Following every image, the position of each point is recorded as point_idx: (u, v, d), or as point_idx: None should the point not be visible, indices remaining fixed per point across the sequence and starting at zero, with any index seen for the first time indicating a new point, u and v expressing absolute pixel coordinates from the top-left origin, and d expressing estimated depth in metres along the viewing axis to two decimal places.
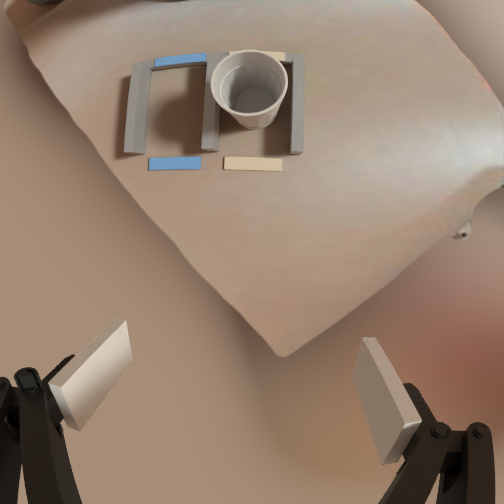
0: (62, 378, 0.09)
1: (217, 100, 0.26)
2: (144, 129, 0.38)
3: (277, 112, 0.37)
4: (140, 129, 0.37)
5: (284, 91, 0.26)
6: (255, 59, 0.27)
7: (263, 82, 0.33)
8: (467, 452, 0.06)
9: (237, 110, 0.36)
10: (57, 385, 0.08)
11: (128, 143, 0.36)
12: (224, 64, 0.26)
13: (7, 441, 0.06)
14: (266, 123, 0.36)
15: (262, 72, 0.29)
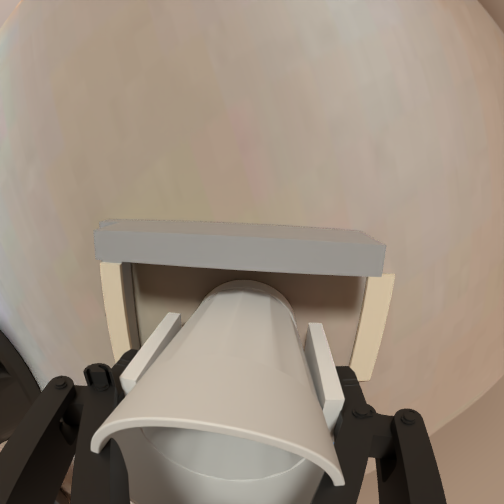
0: (133, 371, 0.10)
1: None
2: None
3: (255, 282, 0.17)
4: None
5: (252, 437, 0.05)
6: (124, 432, 0.08)
7: None
8: (398, 441, 0.07)
9: None
10: (131, 379, 0.10)
11: None
12: (159, 499, 0.08)
13: (58, 443, 0.07)
14: (292, 321, 0.15)
15: None
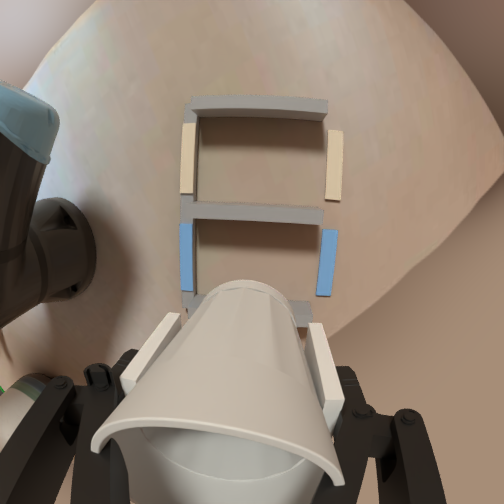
0: (133, 371, 0.10)
1: None
2: None
3: (255, 282, 0.17)
4: None
5: (252, 437, 0.05)
6: (124, 432, 0.08)
7: None
8: (398, 441, 0.07)
9: None
10: (131, 379, 0.10)
11: (300, 321, 0.31)
12: (159, 499, 0.08)
13: (58, 443, 0.07)
14: (292, 321, 0.15)
15: None
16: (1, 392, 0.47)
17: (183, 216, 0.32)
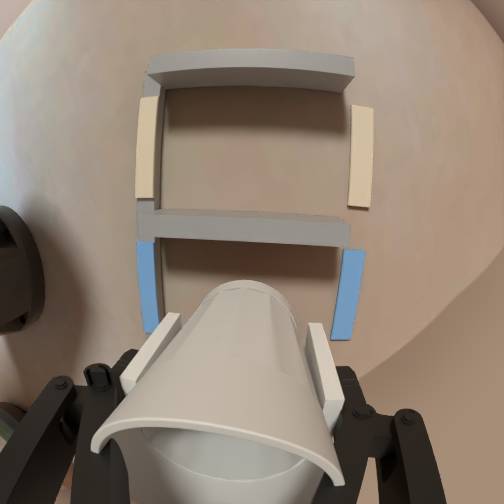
0: (133, 371, 0.10)
1: None
2: None
3: (255, 282, 0.17)
4: None
5: (252, 437, 0.05)
6: (124, 432, 0.08)
7: None
8: (398, 441, 0.07)
9: None
10: (131, 379, 0.10)
11: None
12: (159, 499, 0.08)
13: (58, 443, 0.07)
14: (292, 321, 0.15)
15: None
16: None
17: None
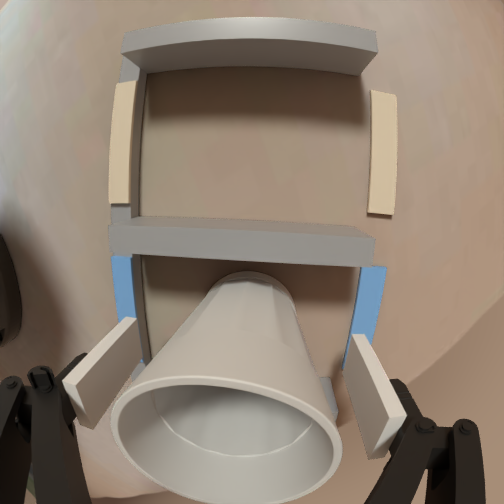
0: (76, 376, 0.09)
1: (278, 502, 0.08)
2: None
3: (258, 273, 0.18)
4: None
5: (261, 391, 0.07)
6: (139, 405, 0.09)
7: None
8: (454, 449, 0.06)
9: None
10: (71, 383, 0.09)
11: None
12: (169, 473, 0.09)
13: (17, 441, 0.06)
14: (292, 308, 0.17)
15: None
16: None
17: None
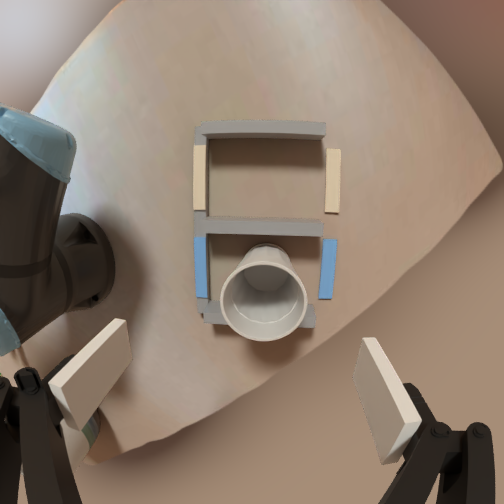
0: (62, 378, 0.09)
1: (286, 334, 0.27)
2: None
3: (270, 243, 0.37)
4: None
5: (277, 265, 0.25)
6: (228, 290, 0.28)
7: None
8: (467, 452, 0.06)
9: (271, 288, 0.37)
10: (57, 385, 0.08)
11: (305, 322, 0.35)
12: (238, 325, 0.27)
13: (7, 441, 0.06)
14: None
15: (237, 275, 0.30)
16: None
17: (197, 230, 0.36)
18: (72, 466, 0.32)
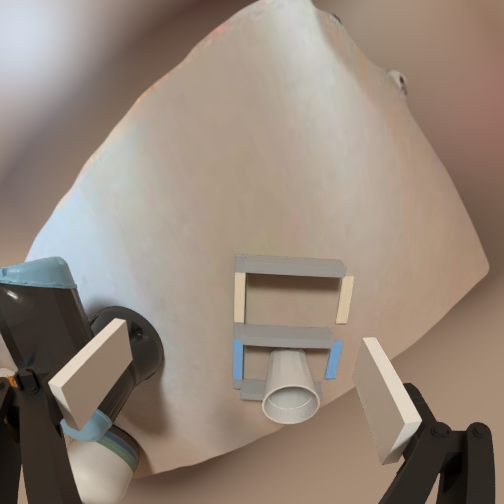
0: (62, 378, 0.09)
1: (304, 420, 0.36)
2: None
3: None
4: None
5: (302, 386, 0.34)
6: None
7: None
8: (467, 452, 0.06)
9: None
10: (57, 385, 0.08)
11: None
12: (272, 414, 0.37)
13: (7, 441, 0.06)
14: (305, 358, 0.44)
15: None
16: None
17: (236, 336, 0.45)
18: (123, 493, 0.41)
